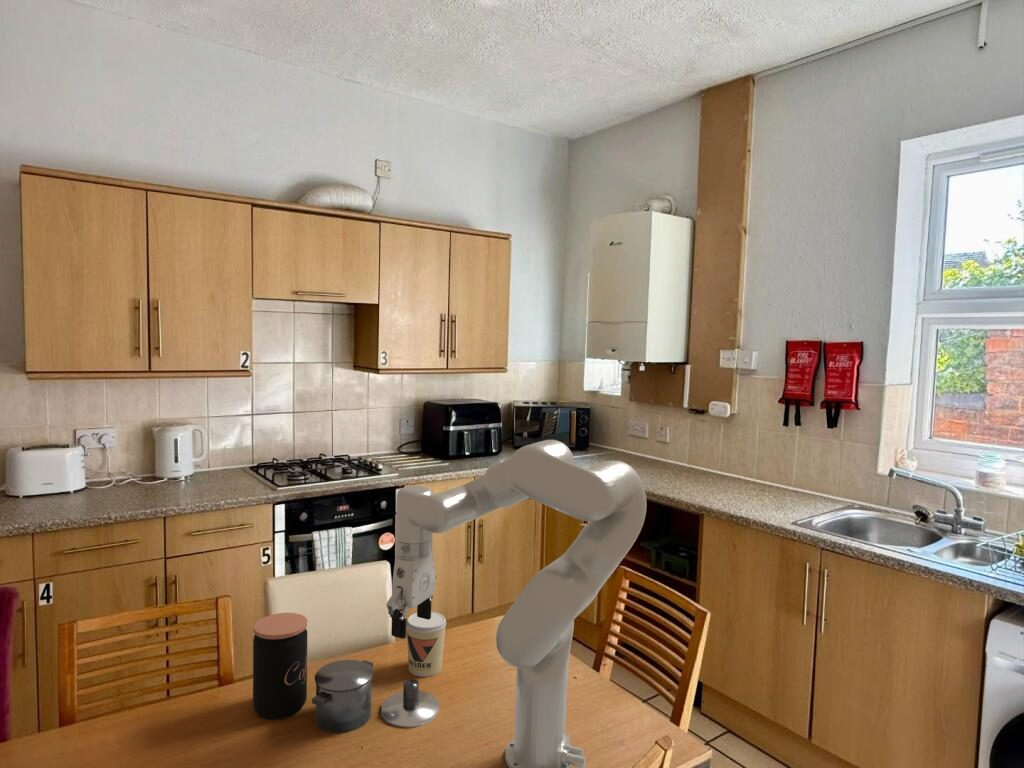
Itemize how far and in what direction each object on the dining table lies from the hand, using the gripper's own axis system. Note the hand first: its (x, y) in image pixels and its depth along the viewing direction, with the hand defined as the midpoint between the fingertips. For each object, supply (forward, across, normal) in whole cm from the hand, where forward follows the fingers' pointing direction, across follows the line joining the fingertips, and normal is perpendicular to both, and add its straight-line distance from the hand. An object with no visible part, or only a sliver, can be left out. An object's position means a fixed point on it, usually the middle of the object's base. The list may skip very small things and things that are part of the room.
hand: (411, 627), depth 133 cm
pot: (+18, -8, +11) cm, 22 cm away
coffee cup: (+18, +16, +6) cm, 25 cm away
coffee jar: (+18, -11, +25) cm, 33 cm away
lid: (+18, 0, 0) cm, 18 cm away
